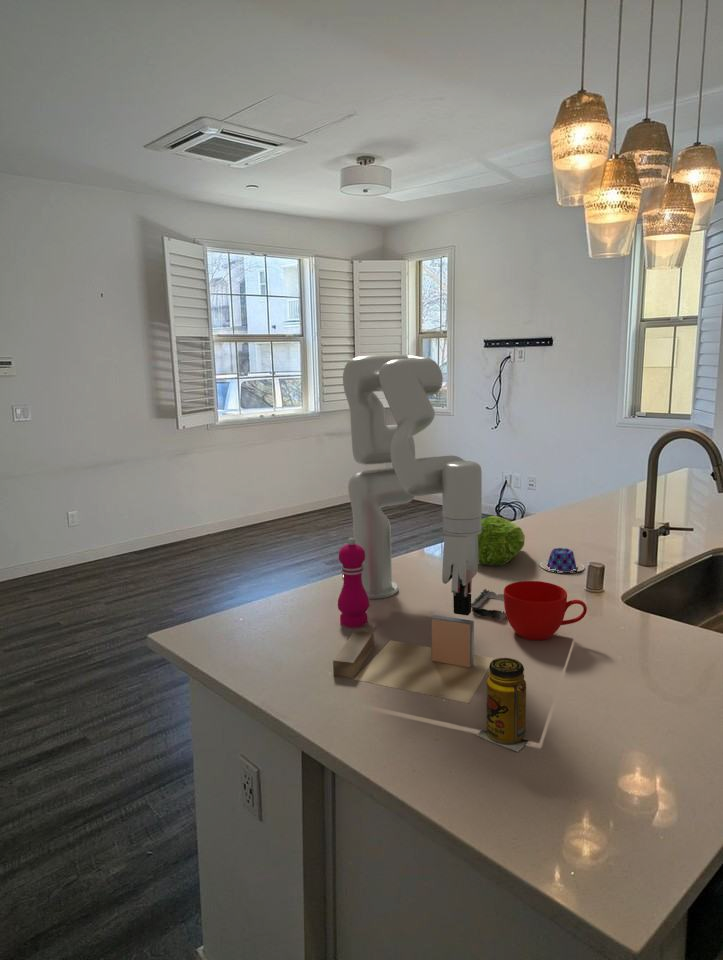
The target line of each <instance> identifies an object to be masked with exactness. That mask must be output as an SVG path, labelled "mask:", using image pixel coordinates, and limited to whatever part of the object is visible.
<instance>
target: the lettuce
mask: <svg viewBox="0 0 723 960" xmlns="http://www.w3.org/2000/svg"><path fill="white" fill-rule="evenodd" d="M525 538H526V535H525V534H524V531H523V530H522V528H521V527H520V526H518V525H516V524H515V523H513V522H512V521H509V519H506V518H505V517H504V518H503V517H500V516H497V515H490V516H486V517H484V518H482V532H481V533H480V534H478V564H479V565H486V566H493V567H494V566H498V567H499V566H501V565H505V564H507V563H509V562H510V561H511V560H512V559H514V558H515V557H516V556H517V555H519V553H520V552H521V550H522V549H523V547H524V546H525Z"/></svg>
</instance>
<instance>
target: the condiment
mask: <svg viewBox="0 0 723 960" xmlns="http://www.w3.org/2000/svg"><path fill="white" fill-rule="evenodd" d="M488 670H489V671H488V678H486V679H487V680H486V730H483V729H482V730H480V731H479V732H478V733H477V734H476V736H477V737H480V738H482V739H483V740H486V741H487V742H490V743H493V744H495V745H498V746H501V747H504V748H507V749H510V750H511V751H515V752H517V753H519V752H520V751H521V749H523V748H524V747H525V745H527V744H528V743H529V741H530V740H529V739H524V738H523V737H524V736H525V734H526V731H527V728H526V724H527V720H526V719H527V718H526V717H527V716H526V715H527V713H526V712H527V711H526V710H527V682H526V680H525V673H524V671H525V667H524V665H523V663H521V662H520V661H519V660H517V659H514V658H510V657H497V658H494V660H493V661H492V662H491V663H490V666H489V668H488Z"/></svg>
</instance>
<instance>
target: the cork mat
mask: <svg viewBox="0 0 723 960" xmlns="http://www.w3.org/2000/svg"><path fill="white" fill-rule="evenodd" d="M493 660H495V657H488V656H485V655H477V654H474V665H473V666H472V668H468V667H463V666H457V665H452V664H446V663H441V662H435V661H432V652H431V646H426V645H425V646H424V645H419V644H415V643H414V644H413V643H410V642H409V643H408V642H401V641H397V640H396V641H395V640H389V642H388V643H387V644H386V645H384V646H383V648H382V649H381V650H380V651H379V652H378V653H377V654H376V655H375V656H374V658H372V659H371V660H370V661H369V662H368V664H367V665H366V666H364V668H362V670H361V671H360V672H358V673H357V674H356V676H355V677H354V678H353V680H354V681H360V682H364V683H370V684H372V685H373V684H374V685H379V686H384V687H389V688H393V689H398V690H402V691H407V692H413V693H418V694H422V695H428V696H433V697H435V698H436V697H437V698H442V699H446V700H452V701H455V702H456V701H457V702H461V703H465V704H470V702H471V700H472V699H473V697H474V695H475V694H476V691H477V690H478V689H479V686H480V684H481V682H482V681H483V679H484V677H485V675H486V674H487V672H488V670H489V669H490V668H489V666H490V663H491V662H492V661H493Z"/></svg>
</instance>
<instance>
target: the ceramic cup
mask: <svg viewBox="0 0 723 960" xmlns="http://www.w3.org/2000/svg"><path fill="white" fill-rule="evenodd" d="M503 594H504V600H503V605H504V607H503V608H504V613H506V619H507V622H508V623H509V625H510V627H511V628H512V630H513V631H514V632H515V633H516V634H517V635H518V636H519V637H521V638H523V639H526V640H530V641H544V640H548V639H550V638H551V637H552V636H553V635H554V634H555V633H557V632H558V630H559V628H561V626H565V625H571V624H576V623H578V622H579V621H581V620H582V619H584V618H585V616H586V614H587V613H588V612H587V610H588V607H587V605H586V603H585V602H584V601H583V600H581V599H572V600H569V601H568V600H567V599H568V593H567V590H566V589H564V587H562V586H560V585H557V584H555V583H550V582H546V581H539V580H524V581H523V580H521V581H520V580H519V581H516V582H511V583H509V584H507V585H505V587H504V589H503ZM575 604H576V605H581V607H582V608H583V611H582V612H581V614H579V616H577V617H573V618H571V619H567V620H566V619H565V620H564V618H565V616H566V615H565V614H566V612H567V610H568V608H570V607H571V606H572V605H575Z"/></svg>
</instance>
